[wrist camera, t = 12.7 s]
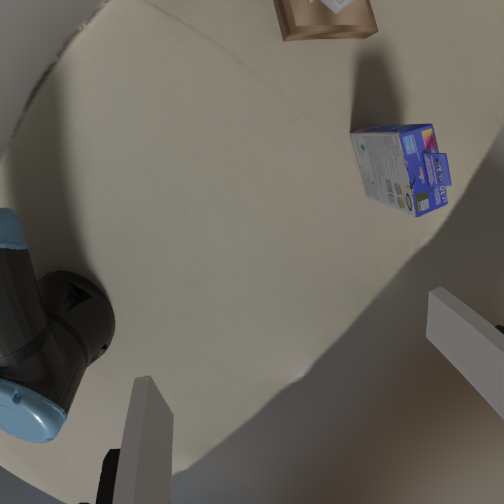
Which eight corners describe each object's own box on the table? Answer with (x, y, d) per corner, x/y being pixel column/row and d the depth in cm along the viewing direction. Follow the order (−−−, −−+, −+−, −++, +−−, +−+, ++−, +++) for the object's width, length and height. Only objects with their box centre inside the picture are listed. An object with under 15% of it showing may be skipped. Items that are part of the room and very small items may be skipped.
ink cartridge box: (398, 188, 43) (462, 210, 30) (367, 199, 43) (426, 227, 30) (382, 122, 40) (447, 121, 26) (348, 132, 40) (407, 132, 26)
